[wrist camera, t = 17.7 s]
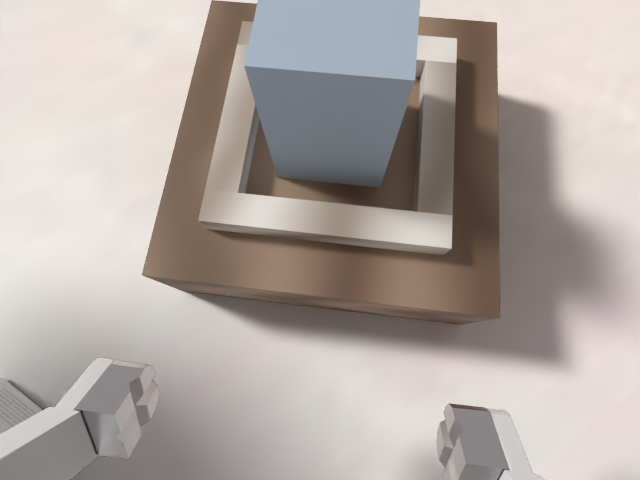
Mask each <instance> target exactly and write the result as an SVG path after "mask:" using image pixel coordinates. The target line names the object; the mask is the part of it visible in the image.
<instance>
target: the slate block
mask: <svg viewBox="0 0 640 480" xmlns="http://www.w3.org/2000/svg"><path fill="white" fill-rule="evenodd" d="M419 8H420V0H258V2H257V7H256V12H255V17H254V21H253V26H252V31H251V36H250V40H249V45H248V50H247V55H246V60H245V64H244V67H245V70H246V74H247V77H248V80H249V84H250V87H251V91H252V94H253V97H254V101H255V104H256V107H257V111H258V114H259V117H260V121H261V124H262V127H263V131H264V134H265V137H266V141H267V144H268V148H269V151H270V154H271V158H272V161H273V164H274V168H275V171H276V174H277V177H279V178H289V179H299V180H309V181H319V182H329V183H339V184H349V185H359V186H369V187H379V188H380V187H381V184H382V180H383V177H384V174H385V171H386V168H387V165H388V162H389V159H390V156H391V153H392V150H393V147H394V144H395V141H396V138H397V135H398V132H399V129H400V126H401V123H402V119H403V116H404V113H405V110H406V107H407V104H408V101H409V98H410V95H411V92H412V89H413V86H414V83H415V76H416V59H417V42H418V25H419Z"/></svg>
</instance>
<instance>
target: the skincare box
mask: <svg viewBox="0 0 640 480" xmlns="http://www.w3.org/2000/svg"><path fill="white" fill-rule="evenodd" d="M41 411H43V410H42V409H41V408H40V407H39V406H37V405H36V404H35V403H33V402H32V401H31V400H30V399H28V398H27V397H26V396H25V395H23V394H22V393H21V392H20V391H19V390H17V389H16V388H15V387H13V386H12V385H11V384H10V383H9V382H7V381H6V380H5V379H3V378H0V434H2V433H3V432H5V431H7V430H9V429H10V428H12V427H14V426H16V425H18V424H19V423H21V422H23V421H25V420H26V419H28V418H30V417H32V416H34V415H35V414H37V413H39V412H41Z"/></svg>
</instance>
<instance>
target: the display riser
mask: <svg viewBox="0 0 640 480" xmlns="http://www.w3.org/2000/svg"><path fill="white" fill-rule="evenodd" d="M256 7H257V4H252V3H239V2H227V1H214V0H212V2H211V5H210V9H209V13H208V17H207V21H206V25H205V29H204V33H203V37H202V41H201V45H200V49H199V53H198V57H197V60H196V64H195V68H194V72H193V76H192V80H191V84H190V88H189V92H188V96H187V100H186V104H185V108H184V111H183V115H182V119H181V123H180V127H179V131H178V135H177V139H176V143H175V147H174V151H173V155H172V159H171V163H170V166H169V170H168V174H167V178H166V182H165V186H164V190H163V194H162V198H161V202H160V206H159V210H158V214H157V218H156V221H155V225H154V229H153V233H152V237H151V241H150V245H149V249H148V253H147V257H146V261H145V265H144V269H143V273H142V275H143V276H145V277H148V278H151V279H153V280H156V281H158V282H161V283H164V284H166V285H169V286H171V287H174V288H177V289H179V290H182V291H188V292H196V293H204V294H212V295H221V296H229V297H237V298H246V299H254V300H262V301H271V302H279V303H287V304H295V305H304V306H312V307H320V308H329V309H337V310H345V311H353V312H362V313H370V314H378V315H387V316H395V317H403V318H411V319H420V320H428V321H436V322H445V323H453V324H466V323H472V322H478V321H483V320H489V319H495V318H500V281H499V181H498V81H497V23H495V22H483V21H470V20H457V19H444V18H431V17H419V25H418V42H417V59H416V76H415V83H414V86H413V89H412V92H411V95H410V98H409V101H408V104H407V107H406V110H405V113H404V116H403V119H402V123H401V126H400V129H399V132H398V135H397V138H396V141H395V144H394V147H393V150H392V153H391V156H390V159H389V162H388V165H387V168H386V171H385V174H384V177H383V180H382V184H381V187H380V188H379V187H369V186H359V185H349V184H339V183H329V182H319V181H309V180H299V179H289V178H279V177H277V174H276V171H275V168H274V164H273V161H272V158H271V154H270V151H269V148H268V144H267V141H266V137H265V134H264V131H263V127H262V124H261V121H260V117H259V114H258V111H257V107H256V104H255V101H254V97H253V94H252V91H251V87H250V84H249V80H248V77H247V74H246V70H245V67H244V64H245V60H246V55H247V50H248V45H249V40H250V36H251V31H252V26H253V21H254V17H255V12H256Z"/></svg>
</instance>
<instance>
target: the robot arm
mask: <svg viewBox="0 0 640 480" xmlns="http://www.w3.org/2000/svg"><path fill="white" fill-rule="evenodd" d="M154 376H155V370H154V366H151V365H145V364H139V363H133V362H126V361H120V360H113V359H106V358H98V359H96V360H94V361H93V362H92V363H91V364H90V365H89V367H88V368H87V369H86V370H85V371H84V373H83V374H82V375H81V376H80V377H79V379H78V380H77V381H76V382H75V383H74V385H73V386H72V387H71V388H70V389H69V391H68V392H67V393H66V394H65V395H64V397H63V398H62V399H61V400H60V401H59V403H58V404H57V405H56V406H55V407H48V408H46V409H44V410H43V411H41V412H39V413H37V414H35V415H34V416H32V417H30V418H28V419H26V420H25V421H23V422H21V423H19V424H18V425H16V426H14V427H12V428H10V429H9V430H7V431H5V432H3V433H2V434H0V480H70V479H71V478H73V477H74V476H75V475H76V474H78V473H79V472H80V471H81V470H82V469H84V468H85V467H86V466H87V465H88V464H90V463H91V462H92V461H93V460H94V459H96V458H97V455H99V456H107V457H116V458H125V459H129V457H130V455H131V454H132V452H133V450H134V448H135V446H136V445H137V443H138V441H139V439H140V437H141V436H142V433H141V426H142V425H144V424H145V423H146V422H148V421H149V420H150V419H151V417H152V416H153V414H154V412H155V410H156V406H157V403H158V400H159V388H158V385H157V384H156V383H155V382H154V381H153V380H152V379H153V378H154ZM444 416H445V420H444V421H442V422H440V424H439V427H438V431H437V452H438V458H439V461H440V462H441V463H442V465H443V466H444V467H445V471H444V474H443V476H442V480H544V479H543V478H542V477H541V476H540V475H537V474H533V472H532V469H531V467H530V464H529V462H528V459H527V457H526V454H525V451H524V449H523V446H522V444H521V441H520V439H519V436H518V434H517V431H516V429H515V426H514V424H513V421H512V419H511V416H510V414H509V413H508V412H507V411H503V410H496V409H488V408H487V409H486V408H483V407H475V406H466V405H457V404H448V405H447V406H446V407H445V410H444Z"/></svg>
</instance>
